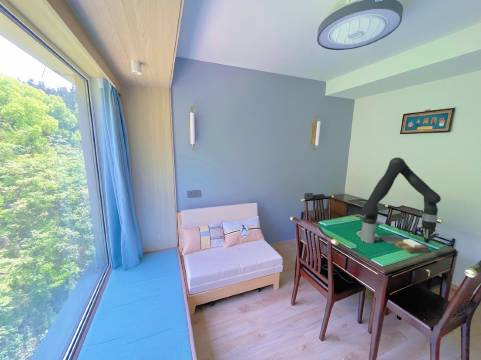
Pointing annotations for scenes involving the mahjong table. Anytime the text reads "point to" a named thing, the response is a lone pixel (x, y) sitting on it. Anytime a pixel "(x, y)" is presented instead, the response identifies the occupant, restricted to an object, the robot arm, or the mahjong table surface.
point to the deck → (411, 249)
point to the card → (412, 243)
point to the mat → (390, 238)
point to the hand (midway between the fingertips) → (426, 242)
